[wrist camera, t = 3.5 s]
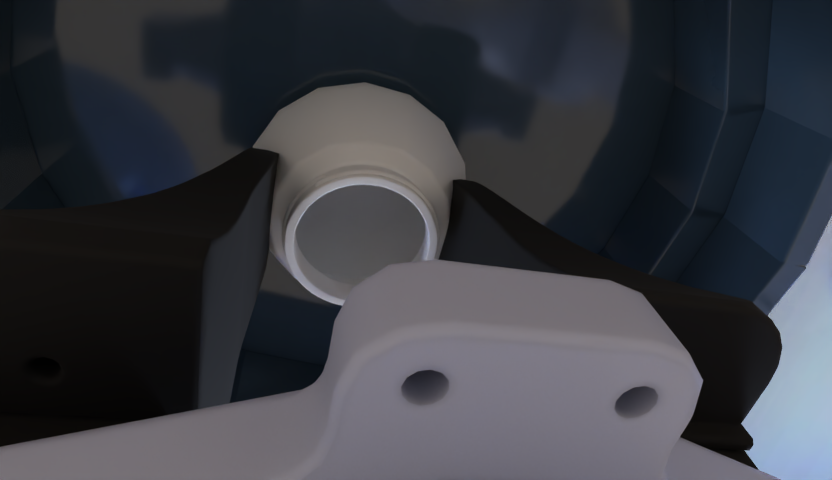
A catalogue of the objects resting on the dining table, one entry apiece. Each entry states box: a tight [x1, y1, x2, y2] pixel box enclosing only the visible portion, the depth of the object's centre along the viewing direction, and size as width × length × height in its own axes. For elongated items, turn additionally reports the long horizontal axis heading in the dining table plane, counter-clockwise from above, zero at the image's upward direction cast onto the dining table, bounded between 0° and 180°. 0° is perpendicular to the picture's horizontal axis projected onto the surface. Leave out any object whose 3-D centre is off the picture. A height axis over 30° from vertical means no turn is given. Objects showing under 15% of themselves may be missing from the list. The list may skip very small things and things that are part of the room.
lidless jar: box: [253, 82, 466, 306], centre depth 12 cm, size 5×3×5 cm
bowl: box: [0, 0, 832, 403], centre depth 11 cm, size 17×17×4 cm
